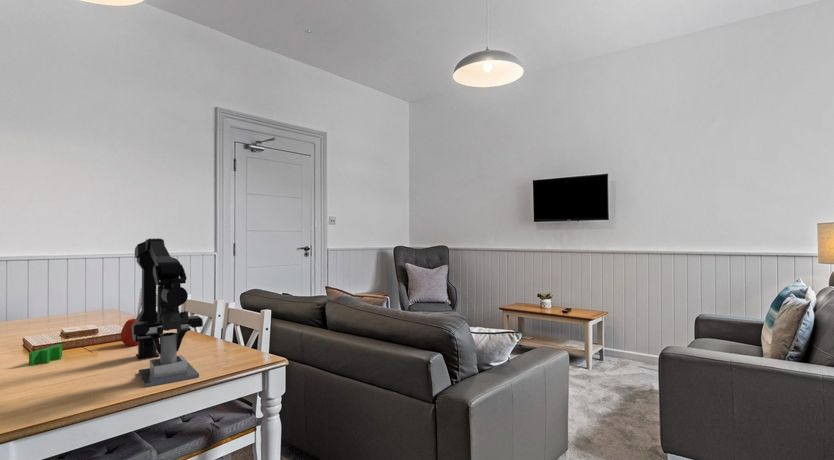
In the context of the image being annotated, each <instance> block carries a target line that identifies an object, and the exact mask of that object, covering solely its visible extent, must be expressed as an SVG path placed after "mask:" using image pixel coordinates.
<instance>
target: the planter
mask: <svg viewBox="0 0 834 460" xmlns="http://www.w3.org/2000/svg"><path fill="white" fill-rule="evenodd" d="M159 343H160V354H159V358H160V365H162V364H168V363H174V362H177V356H178V354H177V353H178V351H177V332H163V334H161V335H160V338H159Z"/></svg>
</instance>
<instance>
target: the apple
mask: <svg viewBox="0 0 834 460" xmlns="http://www.w3.org/2000/svg"><path fill="white" fill-rule="evenodd" d="M134 322H136V318H131V319H128V320H126V322H125V323H124V325H123V327H122V329H121V331H120V339H121V342H122V343H123V344H124V346H127V347H134V346H138V341H137V342H135V341H134V340H133V338H132V324H133V323H134ZM137 337H139V336H137Z"/></svg>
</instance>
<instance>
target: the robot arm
mask: <svg viewBox="0 0 834 460" xmlns="http://www.w3.org/2000/svg"><path fill="white" fill-rule="evenodd" d="M165 245H166V243H165V240H164V239H163V238H146V239H145V241H143V242H140V243H137V245H136V246H135V248H134V257H135V259H136V263H137V265H138V266H139V267H140V269H141V311H140V312H139V314H138V315H137V317H136V318H135V319H136V322H134V323H133V324H132V338H133V340H134V341H135V342H137V341H138V345H137V354H135V357H136V359H137V360H143V359H144V360H145V359H152V358H157V357H160V335H161V334H163V333H164V331H165V332H166V331H167V332H168V331H172V330H176V333H177V352H179V350H180V348H181V347H180V346H181V345H182V341H183V338H184V337H185V335H186V334H187V332H191V330H192V329H194V328H201V327H203V326H204V321H203V318H202V317H200V315H189V311H181V312H180V307H179V306H182V305H184V304H185V303H186V302H187V300H188V298H189V297H188V296H189V294H188V291H187V290H186V289H185V288H184V287H183V286H181V284H186V282H187V274H186V271H185V268H184V266H183V264H181V261H179V260H178V258H176V257H173V256H171V255H170V253H169V251H168V249H167V248H166V246H165ZM191 328H192V329H191ZM137 336H139V337H137Z"/></svg>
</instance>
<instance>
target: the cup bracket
mask: <svg viewBox="0 0 834 460" xmlns="http://www.w3.org/2000/svg"><path fill="white" fill-rule="evenodd" d="M138 375H139V376H140V378H141V381H142V382H143V384H144V387H146V388H149V387H154V386H161V385H164V384H165V385H166V384H170V383H174V382H180V381H186V380H190V379H195V378H200V373H199V372H198V371H197V370H196V369H195V368H194V367H193V366H192V365H191V364H190V362H188V361H187V359H185V357H184V356H182V354H179V355H178V354H177V362H174V363H168V364H162V365H160V357H159V358H154V359H153V358H151V359H149V367H148V368H143V369H138Z"/></svg>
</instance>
